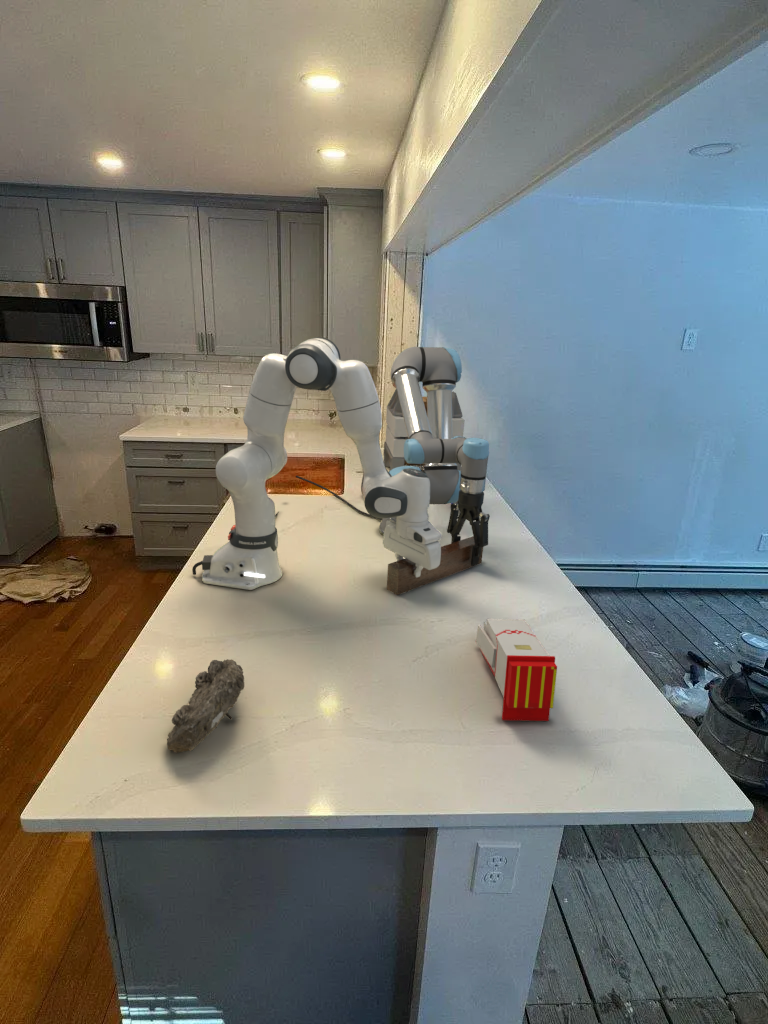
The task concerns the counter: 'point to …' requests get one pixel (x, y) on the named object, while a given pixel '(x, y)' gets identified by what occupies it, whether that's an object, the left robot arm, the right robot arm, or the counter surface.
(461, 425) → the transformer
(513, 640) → the toy
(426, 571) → the walnut beam
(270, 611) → the counter surface
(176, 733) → the fossil
